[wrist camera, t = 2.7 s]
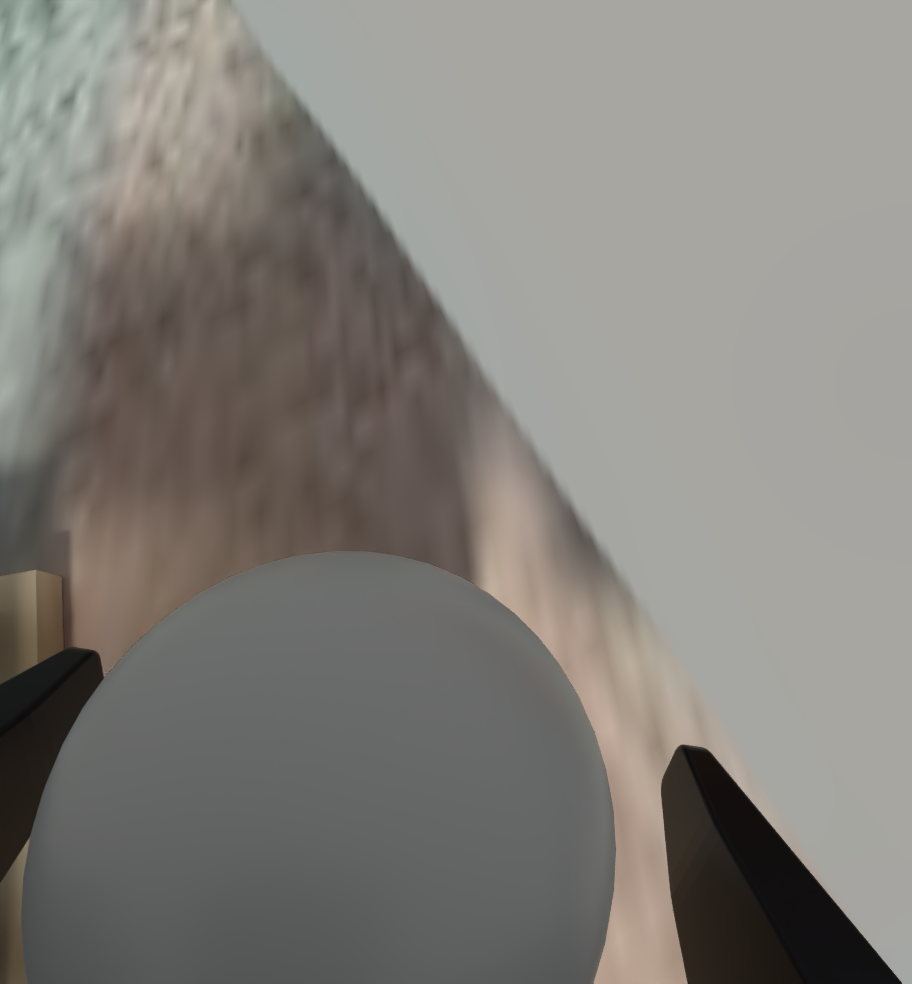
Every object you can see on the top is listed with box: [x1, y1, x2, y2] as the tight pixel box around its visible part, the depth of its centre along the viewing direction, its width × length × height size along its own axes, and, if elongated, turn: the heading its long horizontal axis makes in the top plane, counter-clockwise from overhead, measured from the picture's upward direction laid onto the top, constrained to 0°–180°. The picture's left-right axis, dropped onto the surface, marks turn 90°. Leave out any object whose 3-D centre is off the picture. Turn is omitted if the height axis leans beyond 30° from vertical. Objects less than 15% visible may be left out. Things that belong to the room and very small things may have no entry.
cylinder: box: [21, 551, 616, 984], centre depth 10 cm, size 4×4×14 cm
